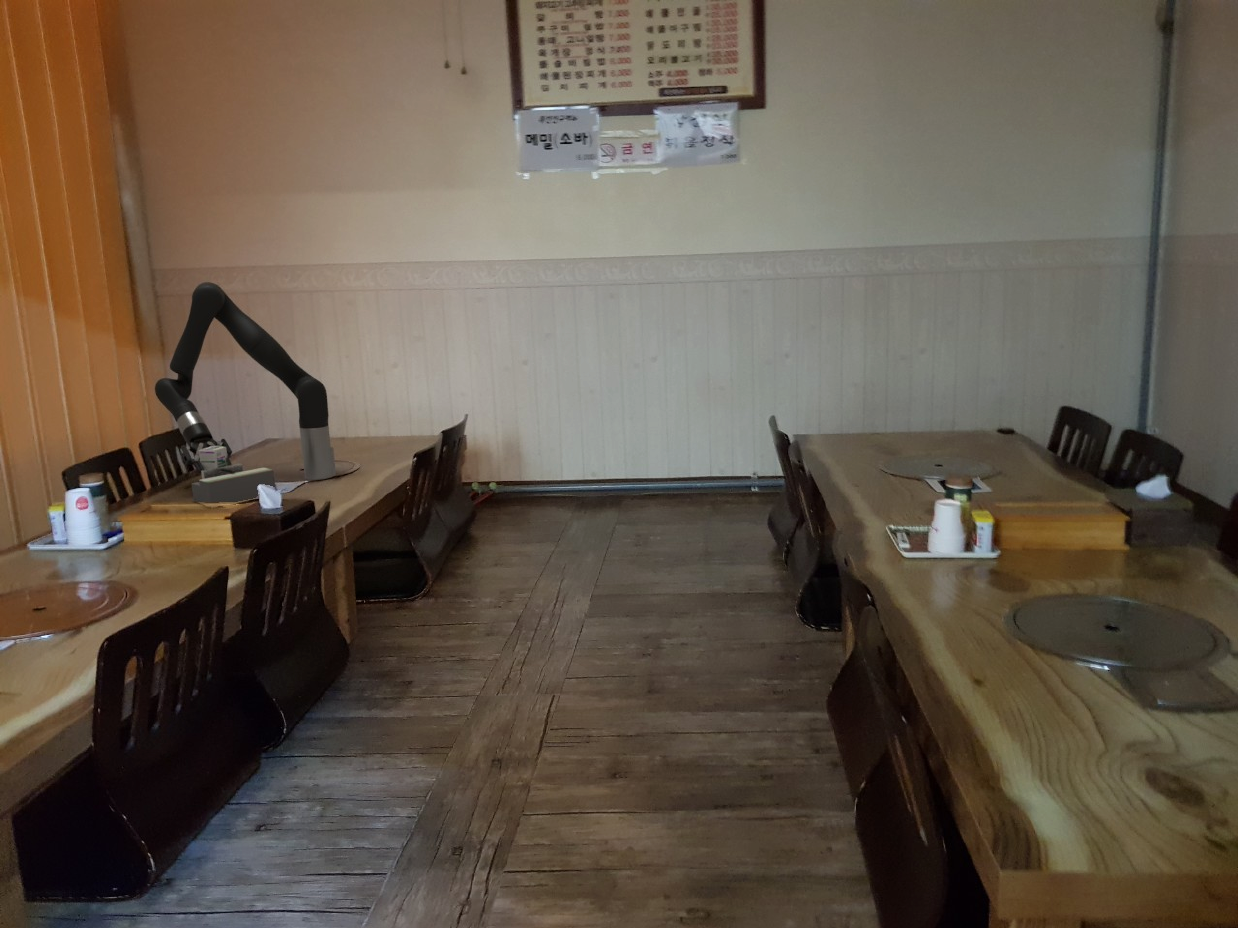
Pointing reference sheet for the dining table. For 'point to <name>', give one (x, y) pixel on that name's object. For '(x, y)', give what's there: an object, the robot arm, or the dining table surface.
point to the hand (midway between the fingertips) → (216, 470)
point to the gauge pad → (221, 471)
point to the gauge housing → (232, 486)
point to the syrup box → (213, 457)
